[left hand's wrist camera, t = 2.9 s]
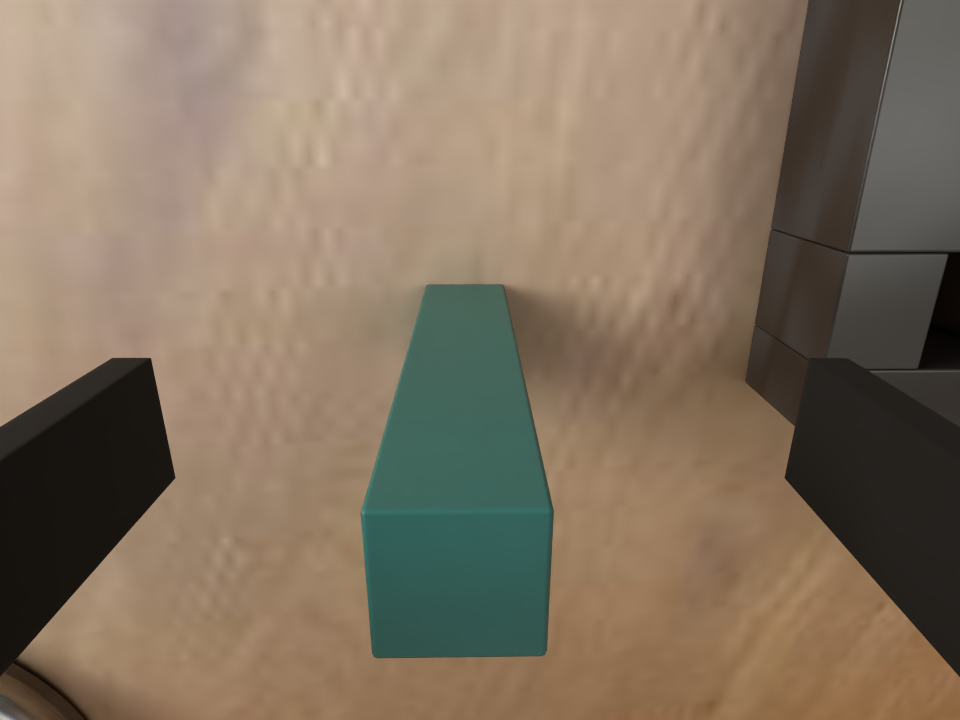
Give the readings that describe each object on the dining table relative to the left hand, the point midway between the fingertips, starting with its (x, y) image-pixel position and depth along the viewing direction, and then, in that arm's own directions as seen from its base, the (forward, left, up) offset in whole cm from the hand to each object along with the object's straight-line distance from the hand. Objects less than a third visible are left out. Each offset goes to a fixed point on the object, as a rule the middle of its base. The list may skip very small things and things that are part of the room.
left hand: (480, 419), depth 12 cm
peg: (0, 0, -7) cm, 7 cm away
